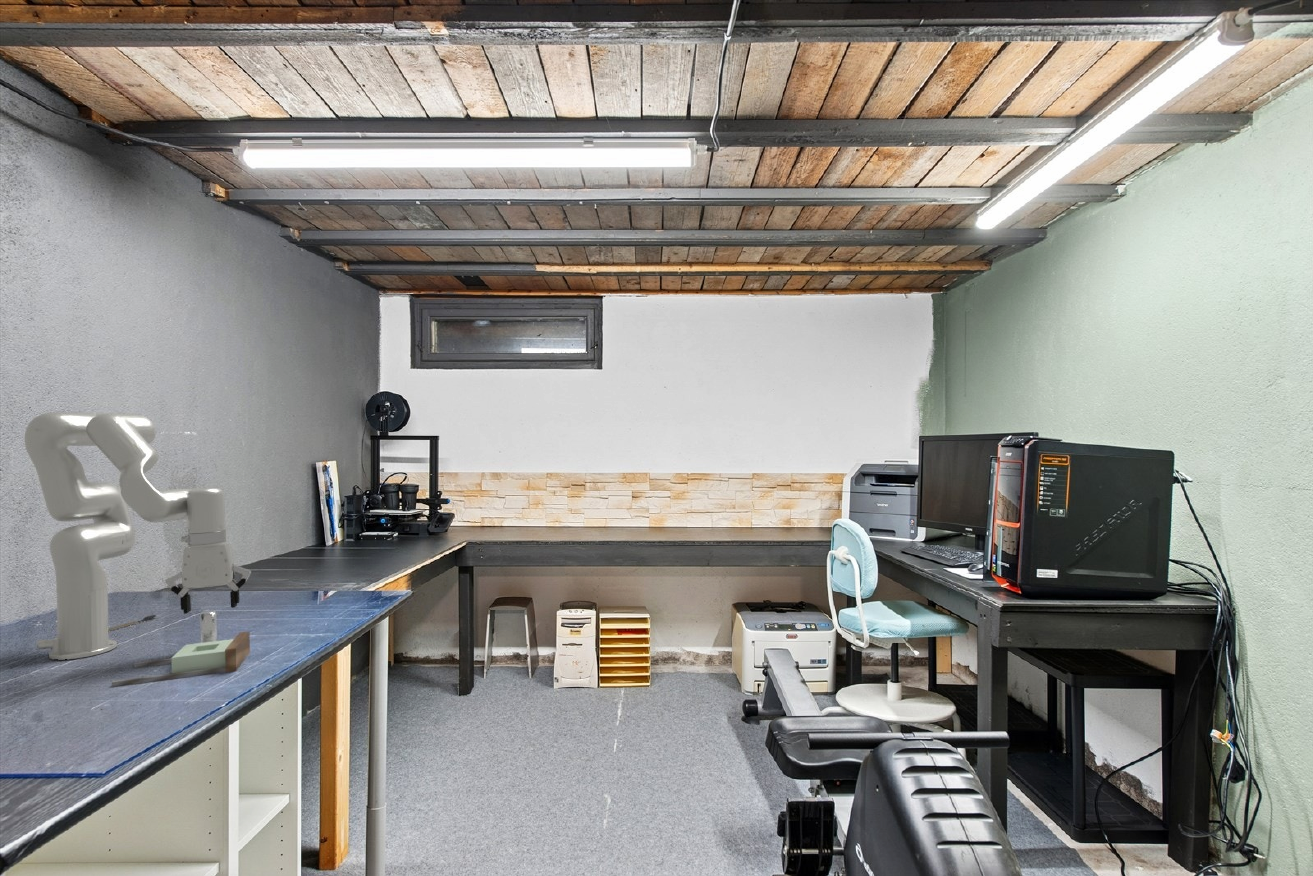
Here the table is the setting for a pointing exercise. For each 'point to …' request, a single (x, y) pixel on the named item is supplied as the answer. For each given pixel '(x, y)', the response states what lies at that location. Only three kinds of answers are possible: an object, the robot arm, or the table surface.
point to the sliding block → (200, 656)
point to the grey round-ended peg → (208, 626)
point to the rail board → (232, 662)
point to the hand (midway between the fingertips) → (211, 609)
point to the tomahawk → (132, 623)
